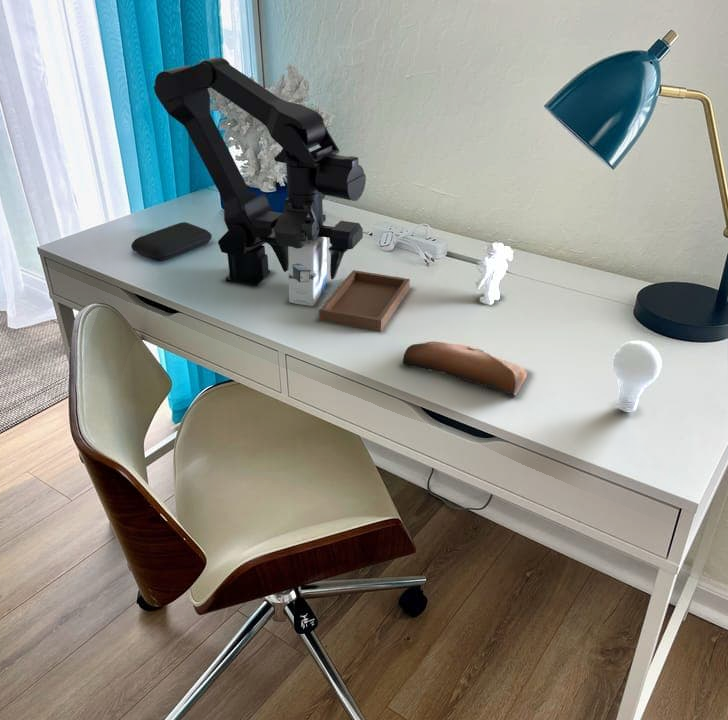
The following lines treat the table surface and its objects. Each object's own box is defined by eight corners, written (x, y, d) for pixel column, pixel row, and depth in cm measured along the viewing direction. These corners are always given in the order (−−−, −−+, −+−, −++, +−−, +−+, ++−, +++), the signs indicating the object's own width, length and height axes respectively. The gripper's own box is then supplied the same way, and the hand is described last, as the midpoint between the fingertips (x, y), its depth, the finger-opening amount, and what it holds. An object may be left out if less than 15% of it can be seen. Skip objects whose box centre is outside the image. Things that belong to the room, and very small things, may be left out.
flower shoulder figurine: (485, 311, 130) (492, 248, 123) (467, 304, 132) (472, 242, 125) (512, 294, 135) (520, 232, 129) (494, 287, 138) (501, 227, 131)
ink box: (302, 282, 138) (300, 223, 132) (328, 285, 137) (328, 226, 131) (288, 303, 131) (285, 242, 124) (316, 307, 130) (314, 245, 124)
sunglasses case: (531, 369, 113) (529, 347, 107) (516, 408, 110) (513, 388, 105) (423, 340, 120) (416, 319, 114) (407, 377, 117) (399, 357, 111)
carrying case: (183, 230, 158) (124, 251, 148) (181, 216, 156) (122, 237, 147) (216, 243, 153) (158, 266, 143) (215, 229, 151) (155, 251, 141)
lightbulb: (603, 393, 109) (617, 329, 103) (648, 401, 107) (665, 336, 101) (601, 418, 104) (616, 351, 98) (648, 427, 102) (666, 360, 96)
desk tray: (319, 320, 126) (319, 309, 125) (353, 280, 139) (353, 269, 138) (381, 331, 123) (381, 320, 122) (409, 289, 136) (409, 279, 135)
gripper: (231, 199, 119) (241, 286, 128) (339, 213, 115) (341, 302, 123) (262, 178, 128) (269, 260, 137) (363, 190, 124) (364, 274, 132)
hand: (309, 274), depth 132 cm, fingers open, 9 cm apart
